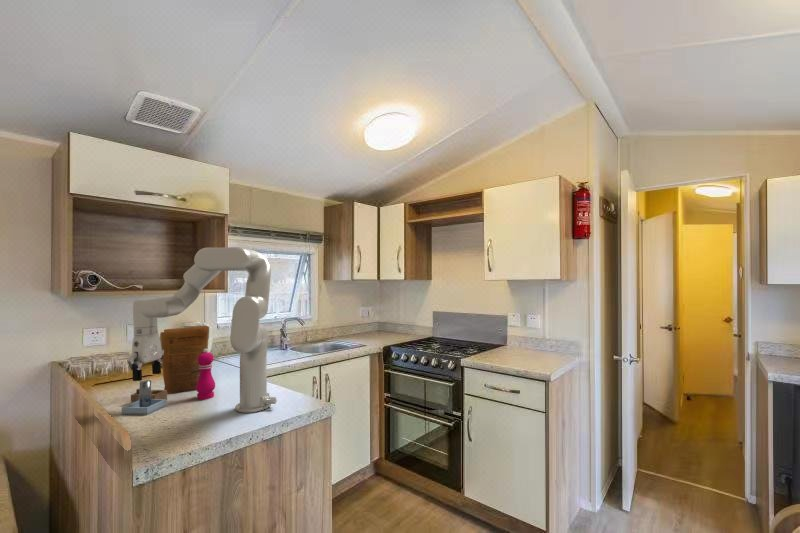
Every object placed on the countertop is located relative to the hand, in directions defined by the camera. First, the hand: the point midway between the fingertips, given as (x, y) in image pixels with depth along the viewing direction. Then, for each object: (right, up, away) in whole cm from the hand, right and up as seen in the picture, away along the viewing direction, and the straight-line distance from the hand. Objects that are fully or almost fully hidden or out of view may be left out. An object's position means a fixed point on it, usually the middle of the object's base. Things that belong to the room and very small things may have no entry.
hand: (147, 377), depth 146 cm
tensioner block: (-5, -13, +9) cm, 16 cm away
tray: (-1, -12, 0) cm, 12 cm away
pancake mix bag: (+1, -13, +25) cm, 28 cm away
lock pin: (-1, -12, 0) cm, 12 cm away
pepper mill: (+15, -13, +14) cm, 24 cm away
